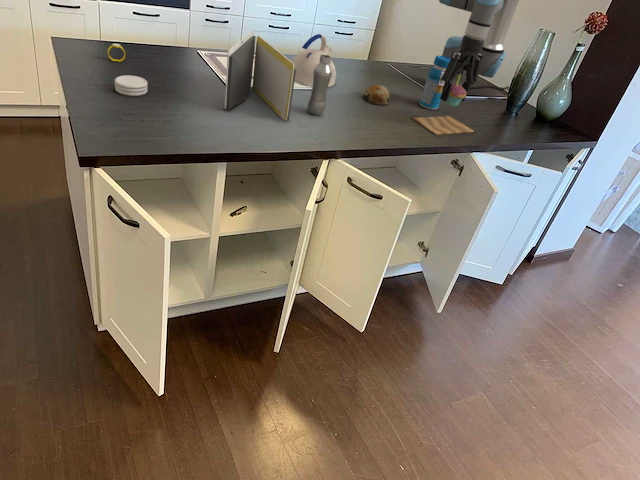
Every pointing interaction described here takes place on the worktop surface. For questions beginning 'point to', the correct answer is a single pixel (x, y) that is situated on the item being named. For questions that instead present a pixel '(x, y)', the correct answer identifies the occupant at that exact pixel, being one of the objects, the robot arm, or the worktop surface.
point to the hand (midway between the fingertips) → (452, 100)
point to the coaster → (131, 85)
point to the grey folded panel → (259, 75)
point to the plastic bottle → (320, 86)
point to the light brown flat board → (443, 125)
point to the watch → (116, 47)
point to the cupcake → (456, 94)
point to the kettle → (311, 62)
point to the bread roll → (377, 95)
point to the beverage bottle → (434, 84)
